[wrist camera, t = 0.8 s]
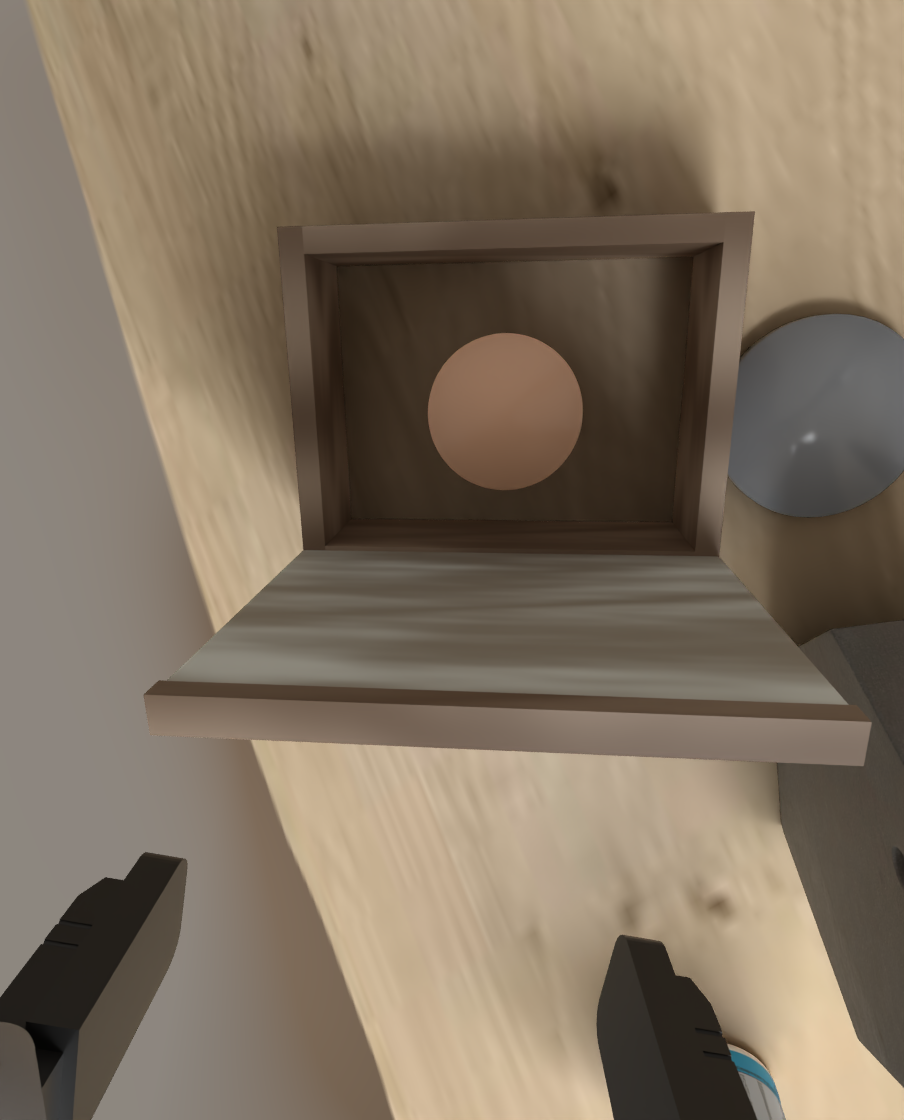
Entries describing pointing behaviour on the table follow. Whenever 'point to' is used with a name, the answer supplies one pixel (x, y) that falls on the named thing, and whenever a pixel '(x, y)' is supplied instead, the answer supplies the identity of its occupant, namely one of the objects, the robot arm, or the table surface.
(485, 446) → the round cabinet knob
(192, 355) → the table surface
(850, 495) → the saucer
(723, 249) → the hinged wooden box
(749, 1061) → the beverage bottle
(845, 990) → the planter
